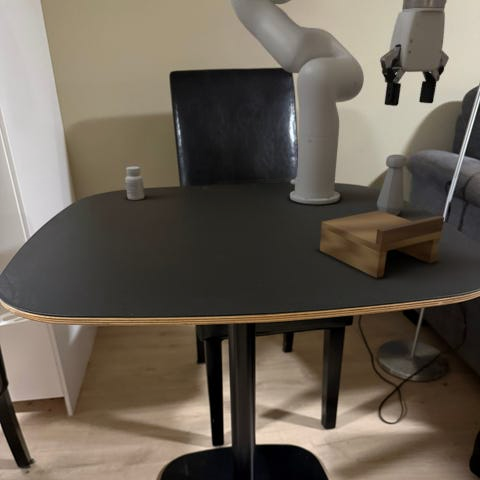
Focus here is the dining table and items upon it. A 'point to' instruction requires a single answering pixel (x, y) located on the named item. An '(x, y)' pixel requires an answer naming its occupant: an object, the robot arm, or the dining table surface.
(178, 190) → the dining table surface
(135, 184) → the pill bottle
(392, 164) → the salt shaker
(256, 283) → the dining table surface
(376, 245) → the shelf
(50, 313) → the dining table surface
